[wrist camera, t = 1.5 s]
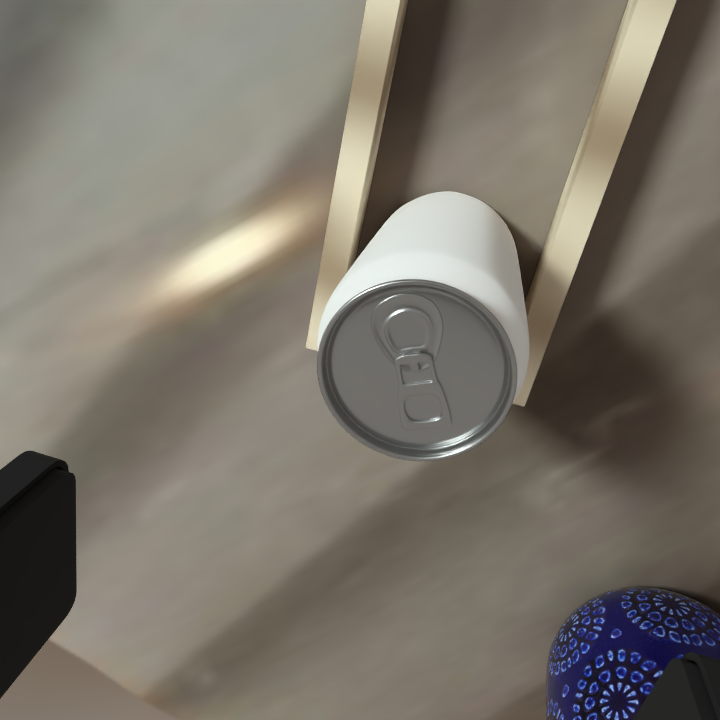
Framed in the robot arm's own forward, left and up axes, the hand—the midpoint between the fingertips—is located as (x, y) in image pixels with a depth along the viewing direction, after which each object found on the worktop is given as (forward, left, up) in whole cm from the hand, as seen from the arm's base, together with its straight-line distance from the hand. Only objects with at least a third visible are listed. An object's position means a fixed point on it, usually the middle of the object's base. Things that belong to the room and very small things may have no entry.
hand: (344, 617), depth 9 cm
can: (0, 0, -21) cm, 21 cm away
